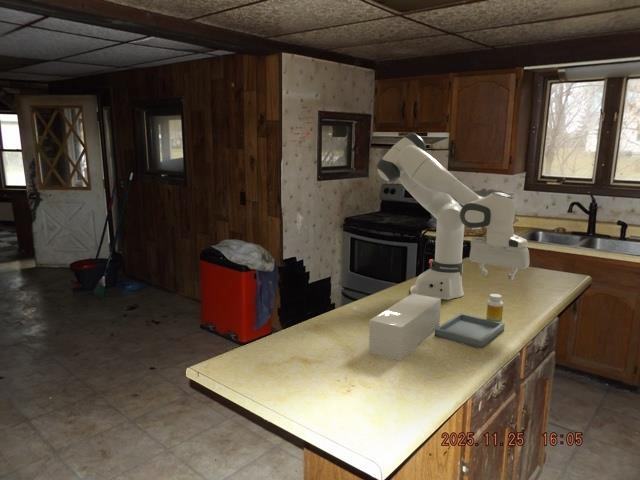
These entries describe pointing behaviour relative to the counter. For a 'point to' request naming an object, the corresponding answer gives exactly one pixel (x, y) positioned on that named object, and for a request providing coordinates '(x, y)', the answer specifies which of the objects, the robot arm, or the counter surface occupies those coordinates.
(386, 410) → the counter surface
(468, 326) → the slate tray
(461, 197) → the robot arm
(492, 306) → the supplement bottle
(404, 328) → the light grey rectangular block
